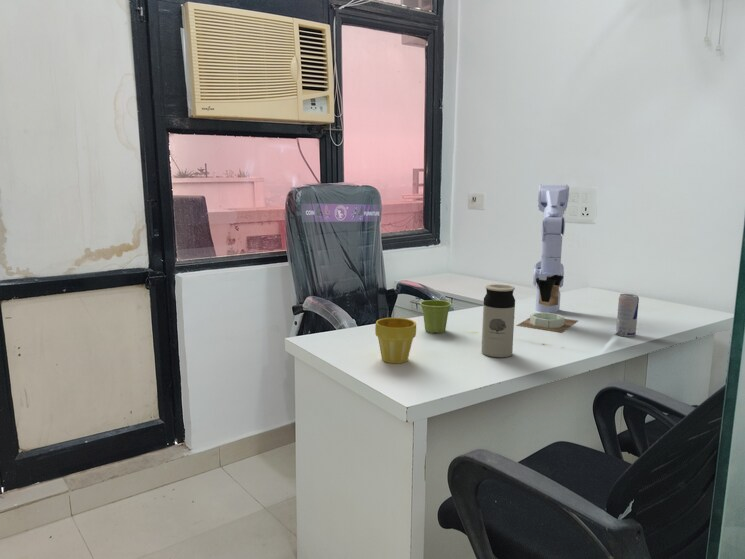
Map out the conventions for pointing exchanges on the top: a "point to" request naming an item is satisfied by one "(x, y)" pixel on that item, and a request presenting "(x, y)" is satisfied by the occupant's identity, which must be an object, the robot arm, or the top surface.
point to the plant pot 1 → (395, 338)
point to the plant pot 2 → (435, 315)
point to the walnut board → (567, 324)
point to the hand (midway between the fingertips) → (548, 299)
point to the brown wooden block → (553, 298)
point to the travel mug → (498, 320)
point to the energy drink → (627, 315)
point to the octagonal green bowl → (547, 320)
